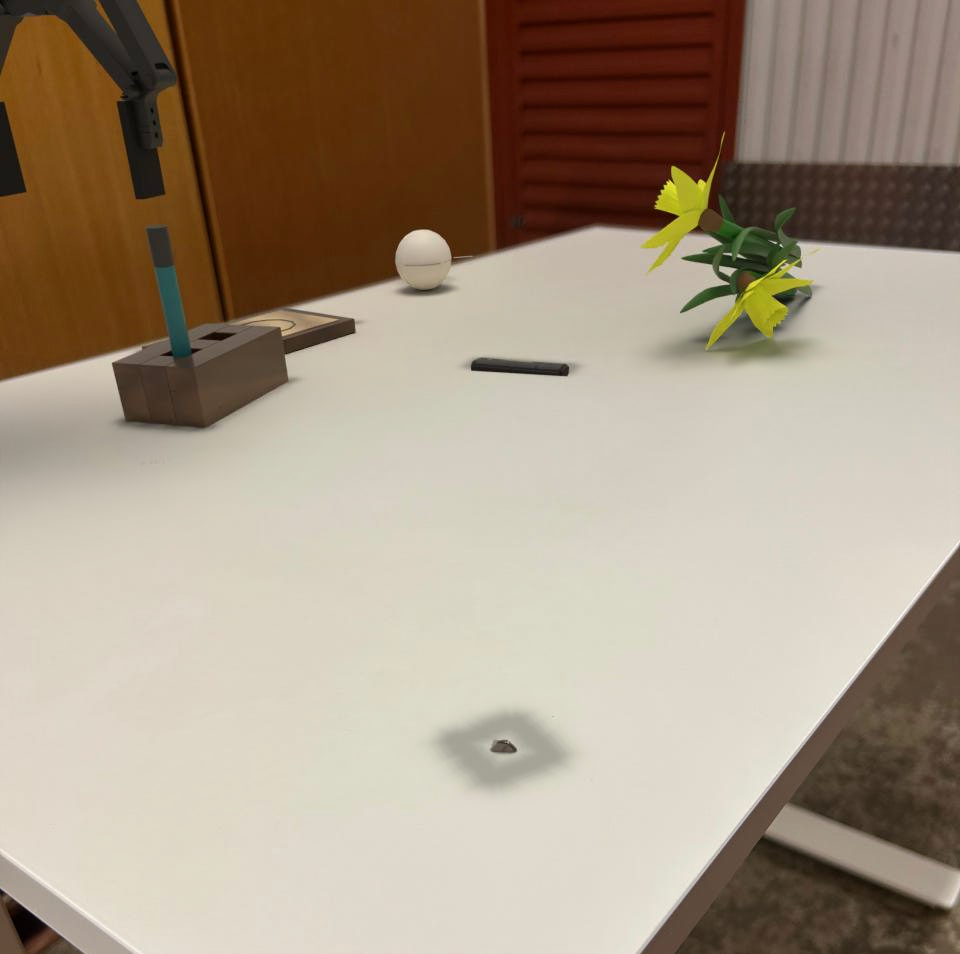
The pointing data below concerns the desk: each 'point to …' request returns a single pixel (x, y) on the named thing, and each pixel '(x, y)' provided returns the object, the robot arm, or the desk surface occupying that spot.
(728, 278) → the daffodil flowers
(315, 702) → the desk surface
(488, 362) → the usb stick
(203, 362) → the pen block
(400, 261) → the seamed sphere
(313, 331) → the picture frame
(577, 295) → the desk surface
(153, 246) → the pen
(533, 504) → the desk surface
